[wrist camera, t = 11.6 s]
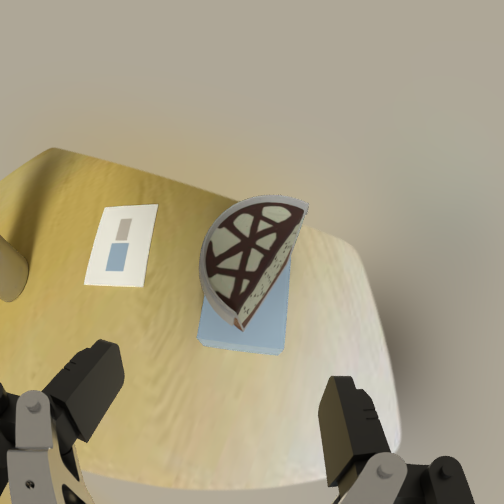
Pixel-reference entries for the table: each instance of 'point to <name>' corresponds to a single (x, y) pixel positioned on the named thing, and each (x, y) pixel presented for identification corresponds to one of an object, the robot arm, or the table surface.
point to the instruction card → (122, 246)
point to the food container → (248, 254)
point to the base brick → (250, 324)
